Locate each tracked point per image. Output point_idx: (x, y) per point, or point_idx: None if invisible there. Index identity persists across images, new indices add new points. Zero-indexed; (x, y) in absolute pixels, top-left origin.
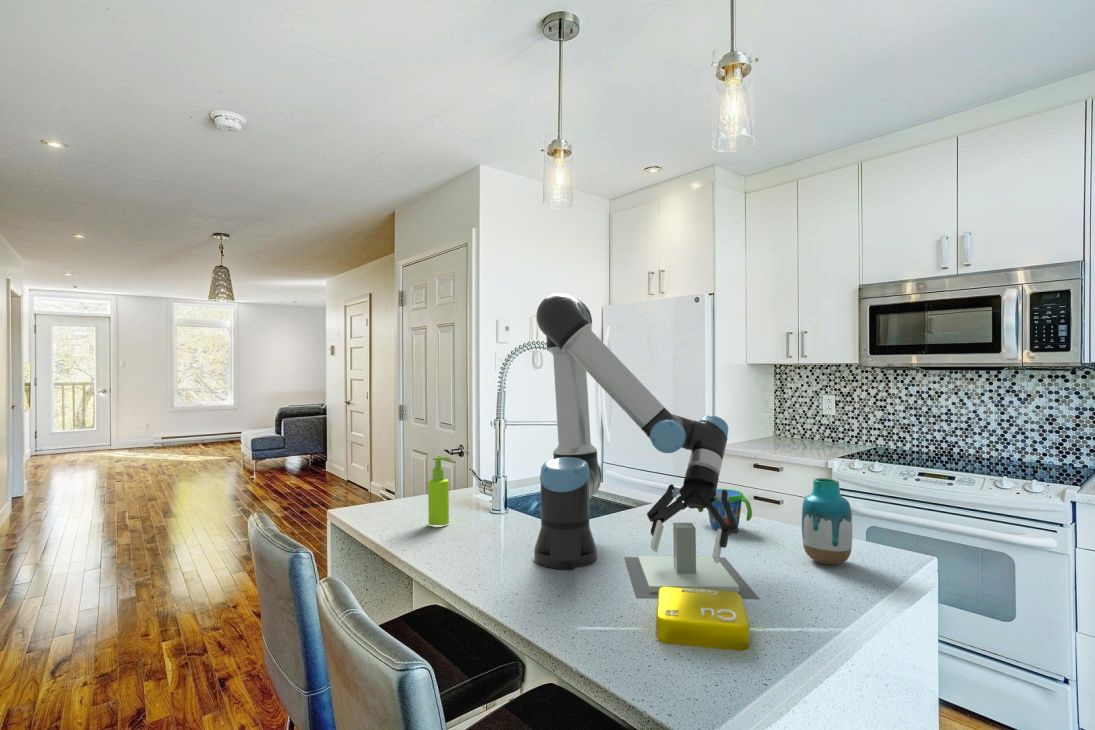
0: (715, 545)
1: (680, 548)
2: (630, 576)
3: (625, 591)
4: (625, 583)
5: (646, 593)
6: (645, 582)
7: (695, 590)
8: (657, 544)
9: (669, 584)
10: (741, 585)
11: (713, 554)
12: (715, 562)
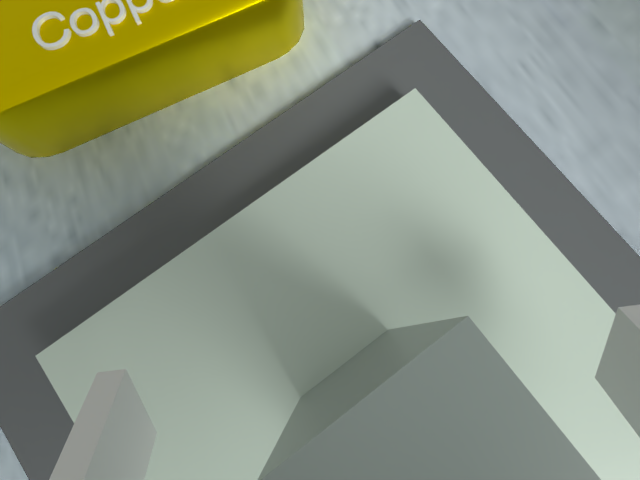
0: (81, 459)
1: (392, 343)
2: (594, 214)
3: (507, 73)
4: (566, 148)
5: (411, 82)
6: None
7: (134, 6)
8: (637, 401)
9: (347, 163)
10: None
11: (114, 382)
12: (151, 430)
